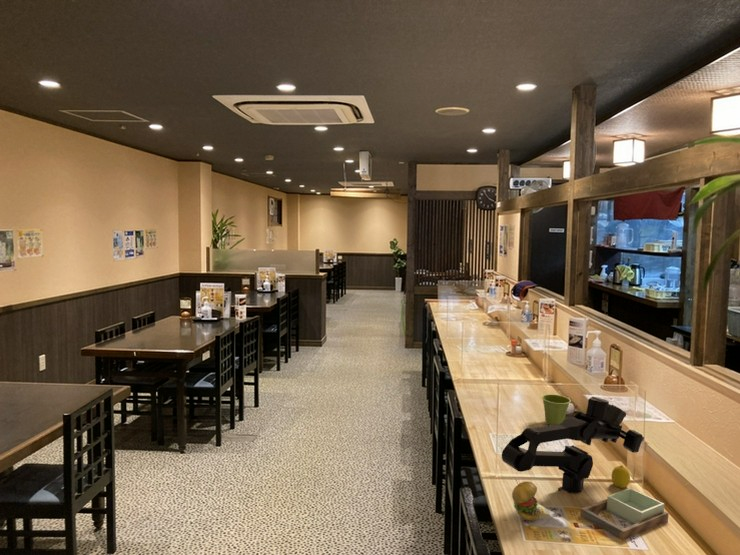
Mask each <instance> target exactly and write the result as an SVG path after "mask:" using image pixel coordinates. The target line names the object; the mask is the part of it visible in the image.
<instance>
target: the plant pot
mask: <svg viewBox="0 0 740 555" xmlns="http://www.w3.org/2000/svg"><path fill="white" fill-rule="evenodd" d="M541 399H542V403H543V409H544V419H545V423H546V425H548V424H549V425H548V426H550V425H557V424H561V423H562V422H563V421H564V420H566V415H567V410H568V408H569V405H570V403H571V402H572V400H571V399H570V397H566V396H564V395H560V394H550V393H549V394H544V395H542V396H541Z"/></svg>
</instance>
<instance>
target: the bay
mask: <svg viewBox="0 0 740 555" xmlns="http://www.w3.org/2000/svg"><path fill="white" fill-rule="evenodd" d="M606 509H607V498H606V499H604V500H600V501H598V502H595V503H593V504H589V505H587V506H583V507H581V508H580V517H581V518H583V519H584V520H586V521H587V522H590V523H591V524H593V525H594V526H597V527H599V528H600V529H602V530H604V531H606V532H607V533H609V534H611V535H612V536H614V537H616V538H618V539H620V540H621V541H625V540H627V539H630V538H632V537H634V536H636V535H639V534H641V533H643V532H646V531H647V530H650V529H652V528H654V527H657V526H659V525H661V524H664V523H666V522H668V521H669V514H670V513H669V512H668V511H666V510H664V512H662V513H660V514H657V515H655V516H653V517H650V518H648V519H645V520H643V521H641V522H638V523H636V524H631V525H629V526H627V527H624V528H622V527H620V526H619V525H617V524H615V523H613V522H611V521H610V520H607V518H604V517H602V516H600V515H599V514H597V513H601V512H603V511H607V510H606Z"/></svg>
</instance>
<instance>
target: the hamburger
mask: <svg viewBox="0 0 740 555" xmlns="http://www.w3.org/2000/svg"><path fill="white" fill-rule="evenodd" d="M517 480H518V479H516V478H515V481H516V483H517V484H516V485H515V487H514V488H513V490H512V494H511V496H512V499H513V504H514V505H513V507H514V509H515V510H516V513H517V514H518V516H519V517H521V518H522V519H524V520H527V521H530V522H531V521H532V522H533V521H536V520H538V519H539V518H540V513H539V511H538V507H537V506H538V502H539V501H538V499H537V498H536V494H537V492H538V488H537V486H536V484H534V483H533V482H532V481H522V482H520V483H518V481H517Z"/></svg>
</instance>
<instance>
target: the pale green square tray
mask: <svg viewBox="0 0 740 555" xmlns="http://www.w3.org/2000/svg"><path fill="white" fill-rule="evenodd" d="M606 497H607V498H606V499H607V509H606V510H605V511H607V512H609V513H611V514H613V515H615V516H617V517H618V518H620V519H622V520H624V521H625V522H628V523H630V524H631V525H633V524H636V523H638V522H641V521H643V520H645V519H648V518H650V517H653V516H655V515H657V514H660V513H662V512H665V506H666V505H665V503H664V502H661V501H659V500H658V499H655V498H653V497H651V496H649V495H647V494H644V493H643V492H642V491H641V492H640V491H638V490H636V489H634V488H632V487H629V488H624V489H623V490H621V491H618V492H615V493H612V494H609V495H607V496H606Z"/></svg>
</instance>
